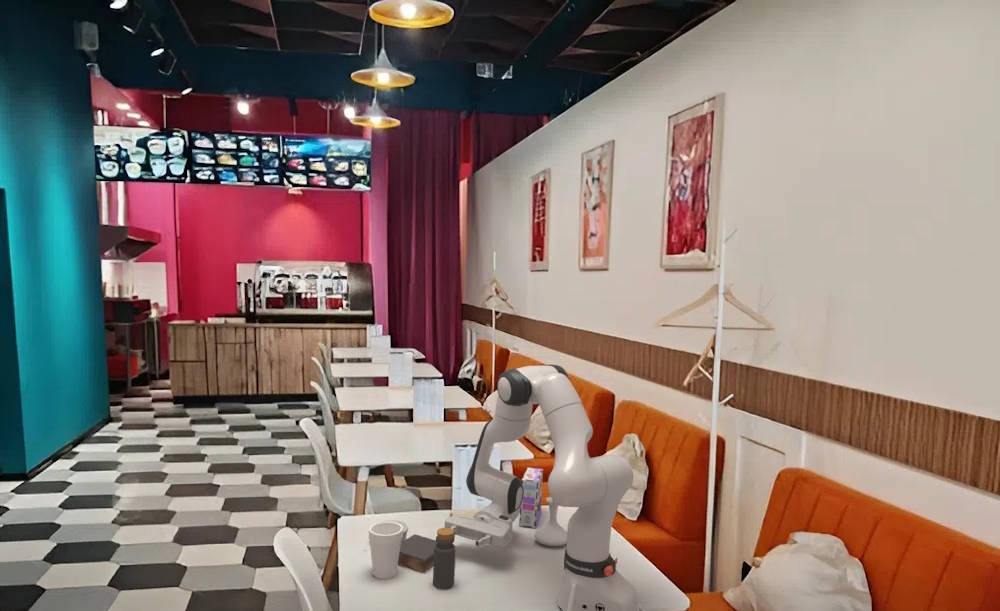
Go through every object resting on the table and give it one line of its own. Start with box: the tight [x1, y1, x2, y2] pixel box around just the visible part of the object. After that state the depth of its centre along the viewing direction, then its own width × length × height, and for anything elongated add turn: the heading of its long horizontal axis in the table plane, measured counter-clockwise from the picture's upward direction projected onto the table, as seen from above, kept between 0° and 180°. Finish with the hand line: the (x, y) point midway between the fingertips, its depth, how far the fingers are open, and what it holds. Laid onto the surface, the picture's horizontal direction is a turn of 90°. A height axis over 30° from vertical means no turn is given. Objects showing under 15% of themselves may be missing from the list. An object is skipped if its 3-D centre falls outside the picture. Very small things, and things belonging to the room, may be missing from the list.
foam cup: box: [368, 521, 403, 580], centre depth 179 cm, size 10×9×13 cm
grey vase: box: [533, 462, 567, 547], centre depth 204 cm, size 13×11×25 cm
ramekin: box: [377, 519, 409, 542], centre depth 198 cm, size 11×11×5 cm
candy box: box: [518, 467, 544, 529], centre depth 220 cm, size 14×6×16 cm, turn 168°
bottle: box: [432, 527, 456, 590], centre depth 174 cm, size 6×6×15 cm
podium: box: [397, 534, 437, 574], centre depth 188 cm, size 12×12×4 cm
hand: (463, 539), depth 183 cm, fingers open, 8 cm apart
